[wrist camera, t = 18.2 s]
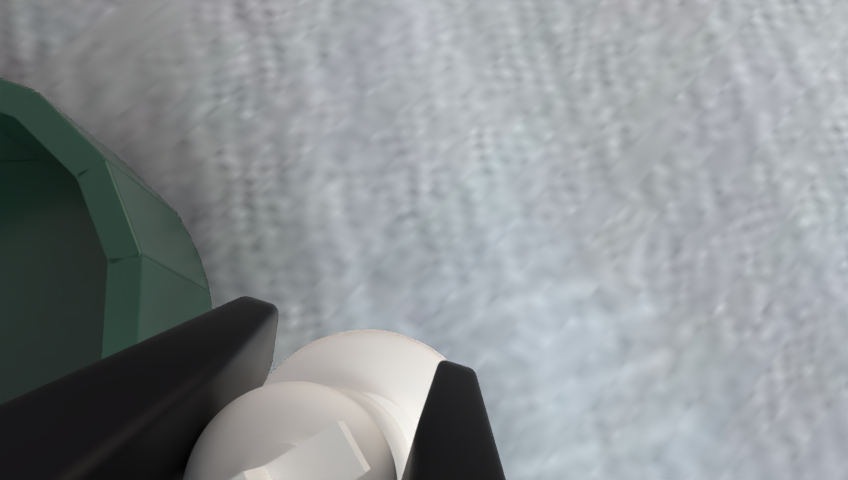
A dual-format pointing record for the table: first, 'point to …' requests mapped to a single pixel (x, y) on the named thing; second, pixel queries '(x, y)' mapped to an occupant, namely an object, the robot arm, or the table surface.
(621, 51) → the table surface
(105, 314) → the pot
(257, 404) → the chess piece
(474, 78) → the table surface
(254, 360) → the robot arm
